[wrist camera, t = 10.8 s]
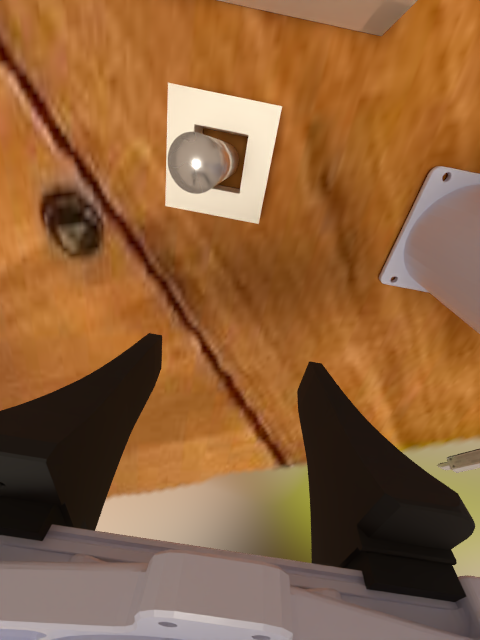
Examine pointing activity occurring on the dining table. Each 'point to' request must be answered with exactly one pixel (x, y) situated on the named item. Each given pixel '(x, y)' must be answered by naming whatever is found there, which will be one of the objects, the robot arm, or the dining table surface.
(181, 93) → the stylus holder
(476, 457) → the caliper
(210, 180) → the stylus
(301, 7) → the white slotted stand
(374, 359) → the dining table surface
